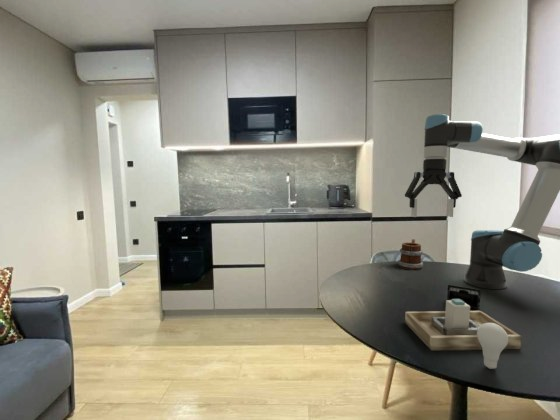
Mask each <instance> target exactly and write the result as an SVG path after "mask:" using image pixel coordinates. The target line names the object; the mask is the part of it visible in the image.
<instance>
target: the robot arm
mask: <svg viewBox="0 0 560 420" xmlns="http://www.w3.org/2000/svg"><path fill="white" fill-rule="evenodd" d="M424 123H425V125H424V144H423V146H424V148H423V158H424V159H423V164H422V165H423V166H422V169H423V171H422V172H420V171H415V172H414V174H413V178H412V180H411V182H410V184H409V186H408V187H407V190H406V191H405V193H404V197H405V198H407V199H409V208H411V210H410V211H411V213H410V216H411V217H413V218H417V217H418V215H417V214H418V198H417V197H418V196H419V195H420V193H421V192H422V191H423V190H424V189H425V188H426V187H427V186H428V185H438V186H441V187H440V188H442V190H443V191H444V193H446V195H448V197H449V198H447V205H446V208H447V209H446V217H450V218H453V217H454V209H455V208H456V206H457V204H456V203H457V200H458V199H459V198H462V196H463V194H462V192H461V190H460V187H459V186H458V183H457V181H456V179H455V178H456V177H455V172H454V171H449V172H447V171H446V170H447V159H446V158H447V157H448V148H452V149H457V150H464V151H470V152H474V153H480V154H487V155H491V156H498V157H502V158H507V160H508V161H511V162H517V163H521V164H527V165H531V166H535V167H536V168H537V172H536V173H535V176H534V178H533V180H532V182H531V185H530V186H529V188H528V190H527V192H526V194H525V197H524V199H523V200H522V203H521V205H520V207H519V209H518V211H517V213H516V214H515V217H514V219H513V222H512V223H511V226H509V227H507V228H505V229H503V230H492V229H491V230H490V229H489V230H485V229H484V230H483V229H482V230H481V229H479V230H477V229H476V230H474V231H472V234H471V238H470V242H471V243H470V255H469V256H470V257H469V258H470V259H469V265H468V268H467V269H466V272H465V273H464V276H463V277H464V280H463V281H464V282H465V283H466V284H468V285H471V286H474V287H477V288H482V289H489V290H501V289H502V290H504V289H506V288H507V278H506V276H505V272H504V268H505V269H509V270H511V271H515V272H522V273H523V272H527V271H531V270H533V269H535V268H536V267H538V265H539V264H540V262H541V261H542V258H543V253H542V250H543V249H542V248H541V247H540V243H541V240H540V238H539V236H538V235H539V234H540V232H541V230H542V228H543V226H544V223H545V221H546V219H547V217H548V215H549V213H550V212H551V209H552V208H553V206H554V204H555V201H556V199H557V197H558V195H559V193H560V133H559V134H552V135H545V136H537V137H520V136H518V137H515V138H511V137H504V136H498V135H494V134H489V133H483V130H484V128H483V125H482V123H481V122H480V121H473V120H469V121H468V120H467V121H466V120H465V121H464V120H460V121H459V120H454V121H453V120H450V116H449V115H448V114H444V113H438V114H432V115H429V116H427V117H426V118H425V122H424ZM445 178H446V179H447V181H448V182H447V181H446V180H445ZM420 179H422V181H421V182H420ZM419 182H420V183H419ZM448 183H449V184H448ZM418 184H419V185H418ZM417 185H418V186H417ZM449 185H450V186H449ZM416 186H417V187H416ZM503 267H504V268H503Z"/></svg>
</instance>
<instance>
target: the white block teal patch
mask: <svg viewBox="0 0 560 420" xmlns="http://www.w3.org/2000/svg"><path fill="white" fill-rule="evenodd" d="M445 311H446V312H445V327H446V328H469V317H470V306H469V305H468V304H466V303H465V302H464V301H462V300H461V299H452V300H447V299H446V300H445Z"/></svg>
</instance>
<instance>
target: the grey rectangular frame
mask: <svg viewBox="0 0 560 420" xmlns="http://www.w3.org/2000/svg"><path fill="white" fill-rule="evenodd" d="M431 323H432V326H433V327H434V328H435V329H436V330H438V331H439V332H440V333H441V334H442V335H445V336H450V335H477V330H478V328H479V327H480V325H478V324H477V323H475V322H474V321H472V320H471V319H470V318H469V328H446V327H445V326H444V325H445V317H432V322H431Z"/></svg>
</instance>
